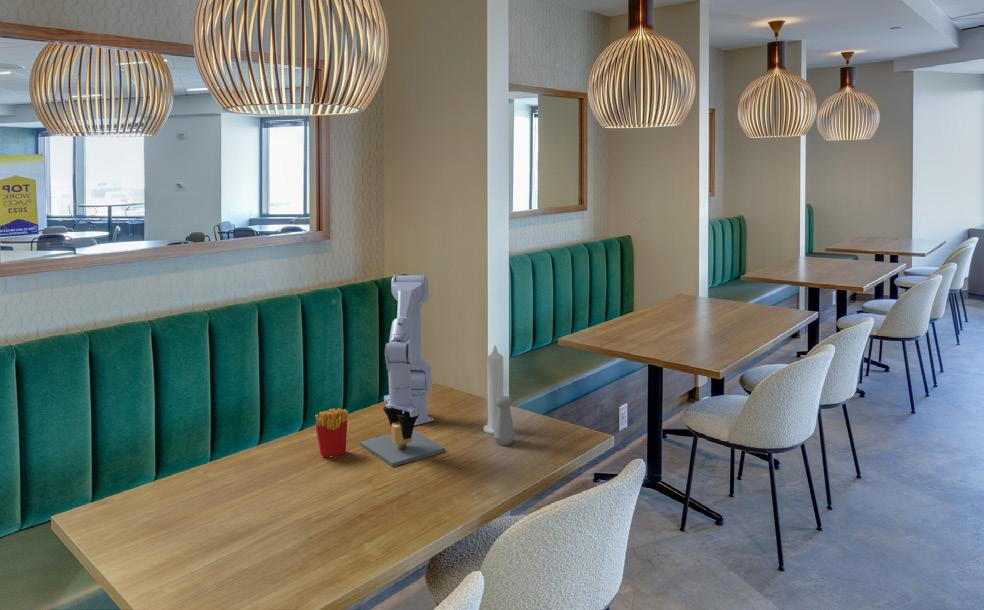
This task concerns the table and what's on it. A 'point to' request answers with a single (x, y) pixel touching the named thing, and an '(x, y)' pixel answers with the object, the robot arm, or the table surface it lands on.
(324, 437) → the french fries
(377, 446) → the board
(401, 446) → the copper pin
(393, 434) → the cap
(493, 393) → the candle
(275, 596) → the table surface
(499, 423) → the salt shaker
